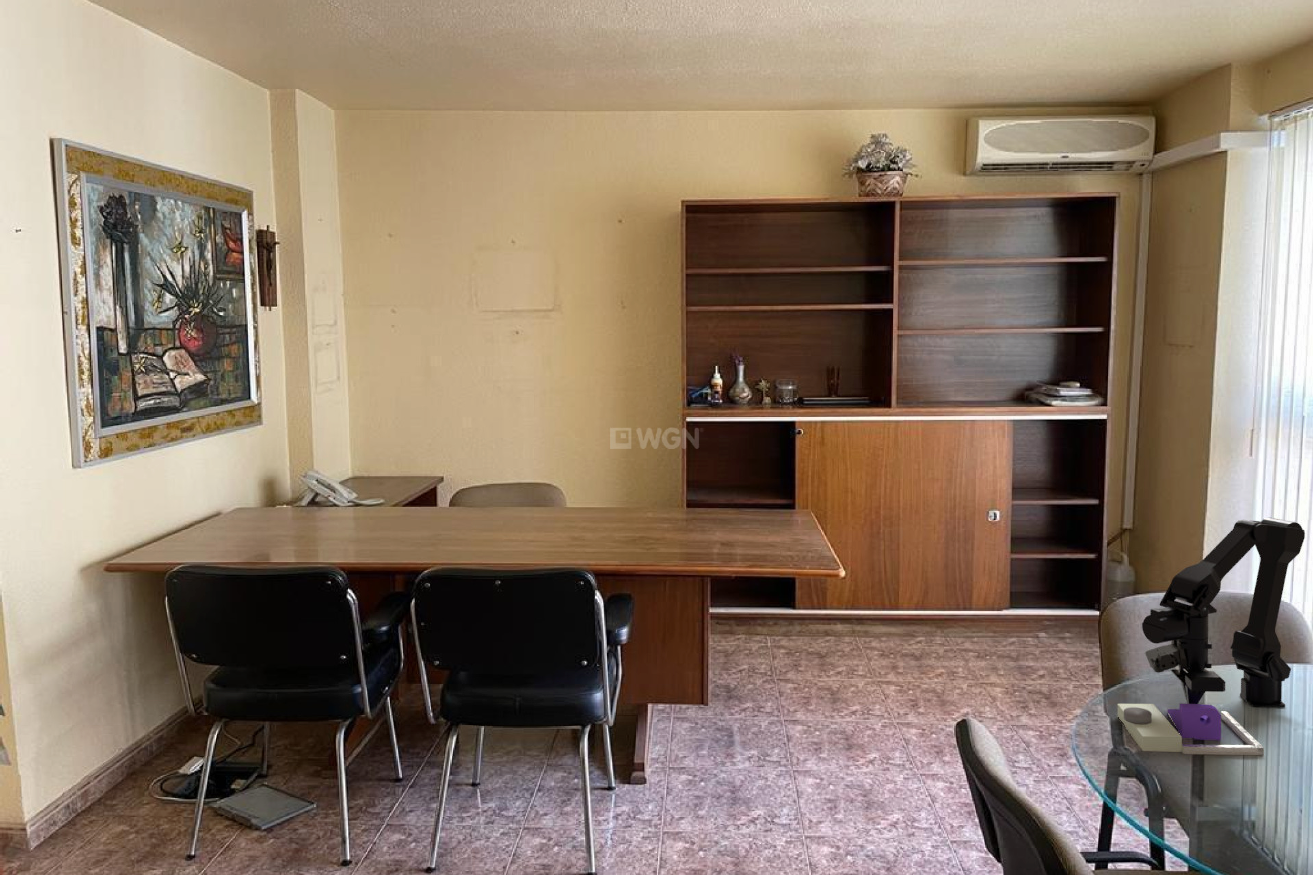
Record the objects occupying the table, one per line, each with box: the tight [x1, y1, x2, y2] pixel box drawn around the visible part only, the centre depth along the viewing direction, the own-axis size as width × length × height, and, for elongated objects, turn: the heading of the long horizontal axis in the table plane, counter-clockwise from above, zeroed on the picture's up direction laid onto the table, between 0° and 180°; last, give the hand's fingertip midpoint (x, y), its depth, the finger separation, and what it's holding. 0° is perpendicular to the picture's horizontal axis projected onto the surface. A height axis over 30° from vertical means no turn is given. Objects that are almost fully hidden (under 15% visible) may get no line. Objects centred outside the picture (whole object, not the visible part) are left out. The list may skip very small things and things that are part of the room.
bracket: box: [1166, 702, 1222, 741], centre depth 194 cm, size 12×7×7 cm, turn 165°
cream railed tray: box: [1117, 703, 1265, 756], centre depth 191 cm, size 22×17×4 cm
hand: (1191, 707), depth 198 cm, fingers closed
